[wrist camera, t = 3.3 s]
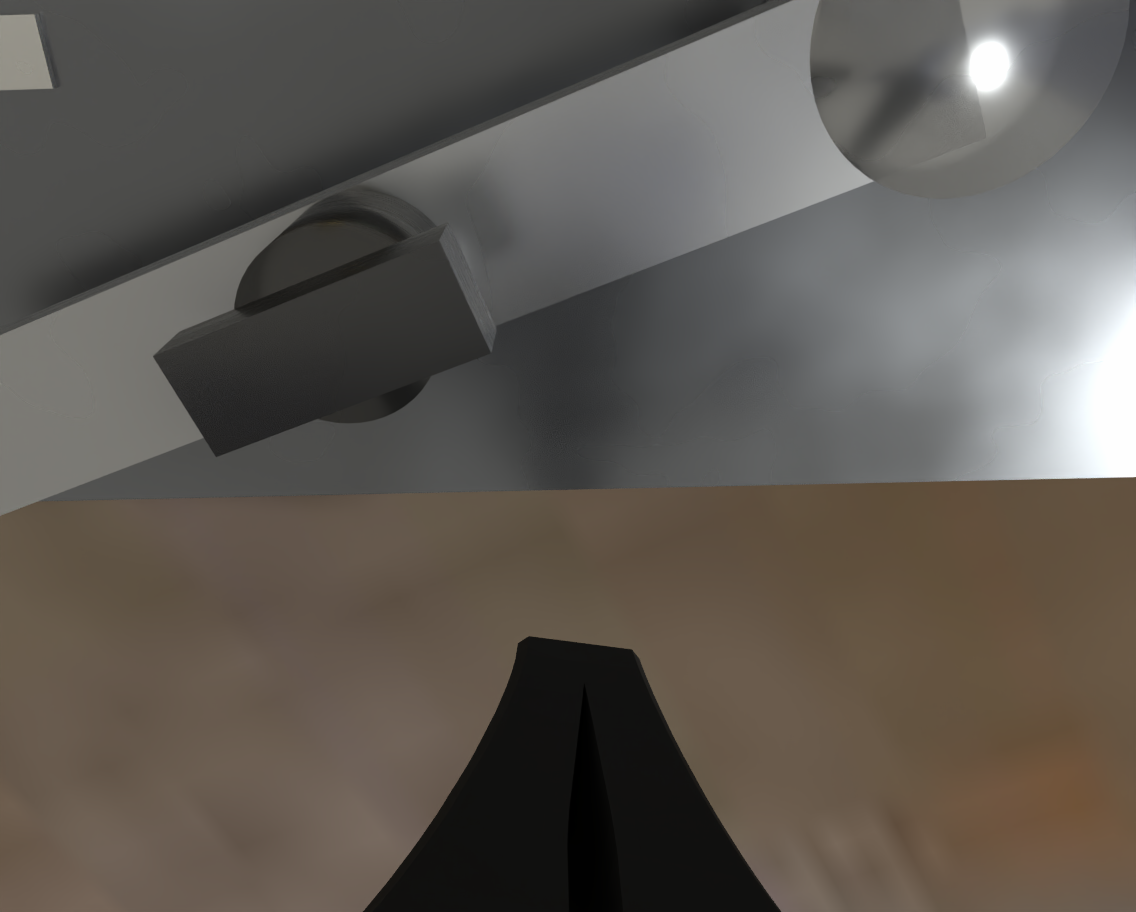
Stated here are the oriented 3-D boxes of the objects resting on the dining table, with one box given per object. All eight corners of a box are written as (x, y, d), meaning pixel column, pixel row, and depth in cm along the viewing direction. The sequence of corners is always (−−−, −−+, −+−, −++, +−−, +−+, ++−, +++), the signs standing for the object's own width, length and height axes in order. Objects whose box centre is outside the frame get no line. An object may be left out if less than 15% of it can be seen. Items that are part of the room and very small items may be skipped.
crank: (985, -167, 10) (1261, -251, 6) (1032, 95, 12) (1290, 176, 7) (-86, 303, 13) (-408, 470, 9) (42, 479, 14) (-189, 703, 10)
